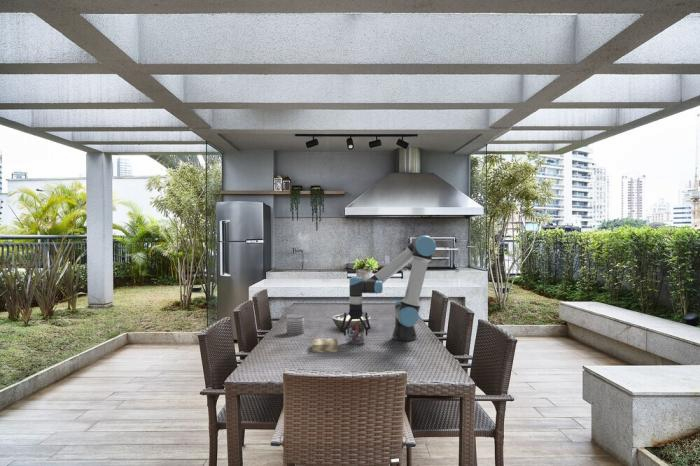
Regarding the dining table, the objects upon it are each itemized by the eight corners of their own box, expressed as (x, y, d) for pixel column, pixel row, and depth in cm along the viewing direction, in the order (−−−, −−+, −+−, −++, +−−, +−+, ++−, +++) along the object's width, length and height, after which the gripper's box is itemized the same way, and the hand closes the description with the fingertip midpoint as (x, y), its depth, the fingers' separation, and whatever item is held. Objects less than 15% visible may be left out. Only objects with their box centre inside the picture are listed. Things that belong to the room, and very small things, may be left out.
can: (307, 334, 308) (307, 315, 308) (291, 336, 302) (291, 317, 302) (299, 331, 318) (299, 313, 318) (283, 333, 311) (283, 314, 311)
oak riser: (337, 345, 276) (337, 338, 276) (338, 352, 261) (338, 344, 261) (313, 346, 275) (313, 339, 275) (312, 352, 260) (312, 344, 260)
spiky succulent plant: (366, 341, 276) (354, 324, 277) (351, 352, 277) (339, 335, 279) (369, 337, 287) (357, 321, 288) (354, 347, 289) (343, 331, 290)
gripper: (374, 302, 286) (374, 339, 286) (336, 302, 285) (336, 339, 285) (375, 304, 279) (375, 342, 279) (336, 304, 278) (336, 342, 277)
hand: (355, 341), depth 282 cm, fingers closed on spiky succulent plant, 10 cm apart
